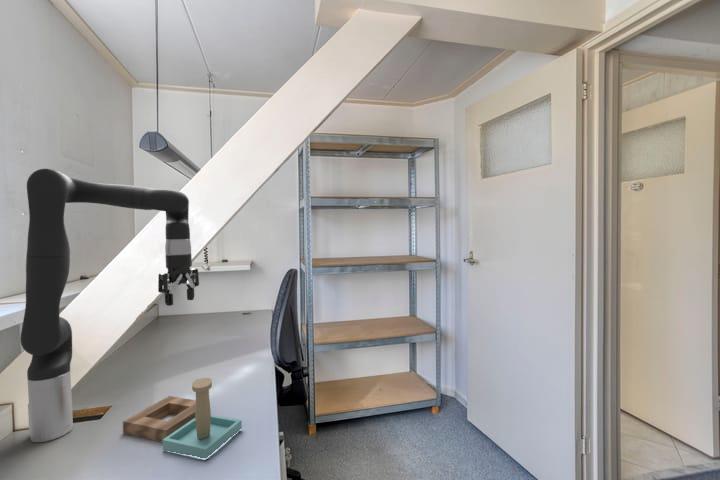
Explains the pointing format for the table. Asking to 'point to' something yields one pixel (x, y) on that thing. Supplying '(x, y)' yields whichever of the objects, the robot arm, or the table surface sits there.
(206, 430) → the handle
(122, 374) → the table surface
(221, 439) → the tray
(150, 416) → the socket block
